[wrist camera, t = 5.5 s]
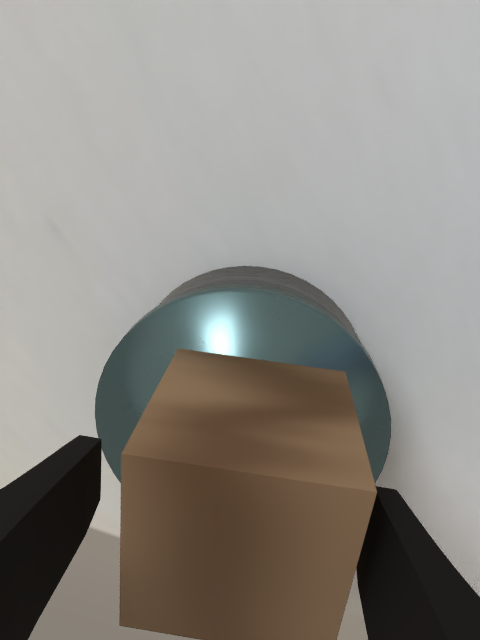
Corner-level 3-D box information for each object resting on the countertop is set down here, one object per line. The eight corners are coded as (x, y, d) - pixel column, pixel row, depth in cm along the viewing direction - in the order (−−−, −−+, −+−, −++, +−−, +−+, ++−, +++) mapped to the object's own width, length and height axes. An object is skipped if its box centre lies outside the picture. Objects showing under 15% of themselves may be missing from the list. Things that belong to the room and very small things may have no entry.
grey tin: (391, 274, 16) (423, 312, 12) (346, 483, 20) (360, 563, 16) (134, 246, 17) (90, 274, 13) (133, 454, 20) (98, 524, 16)
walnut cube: (345, 371, 13) (376, 492, 9) (316, 503, 15) (330, 661, 10) (177, 348, 14) (121, 453, 9) (169, 480, 15) (119, 625, 11)
